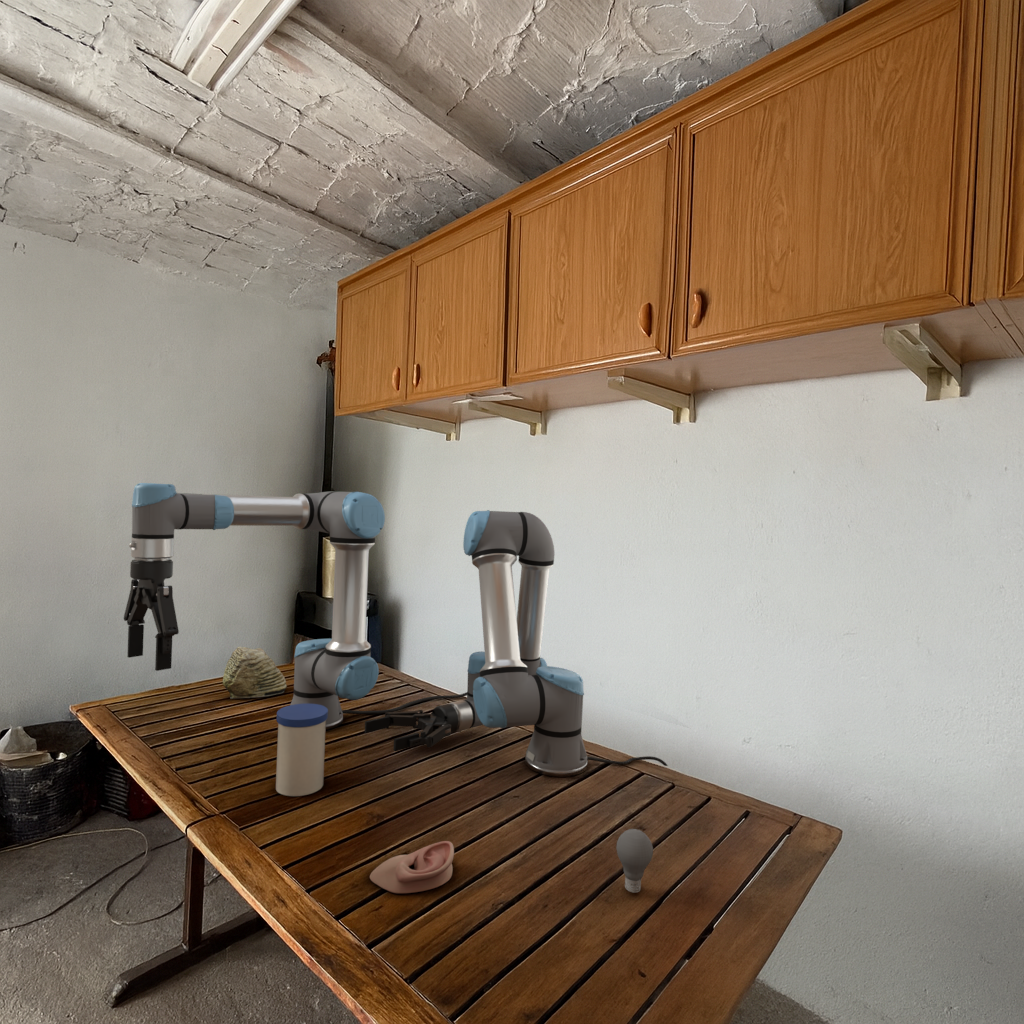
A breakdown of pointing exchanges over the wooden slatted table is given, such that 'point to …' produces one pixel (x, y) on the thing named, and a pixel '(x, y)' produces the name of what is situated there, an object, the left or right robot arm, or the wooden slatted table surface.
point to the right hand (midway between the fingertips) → (379, 735)
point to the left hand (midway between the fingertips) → (148, 662)
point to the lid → (302, 715)
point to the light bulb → (634, 857)
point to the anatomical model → (416, 869)
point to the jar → (300, 759)
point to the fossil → (252, 674)
